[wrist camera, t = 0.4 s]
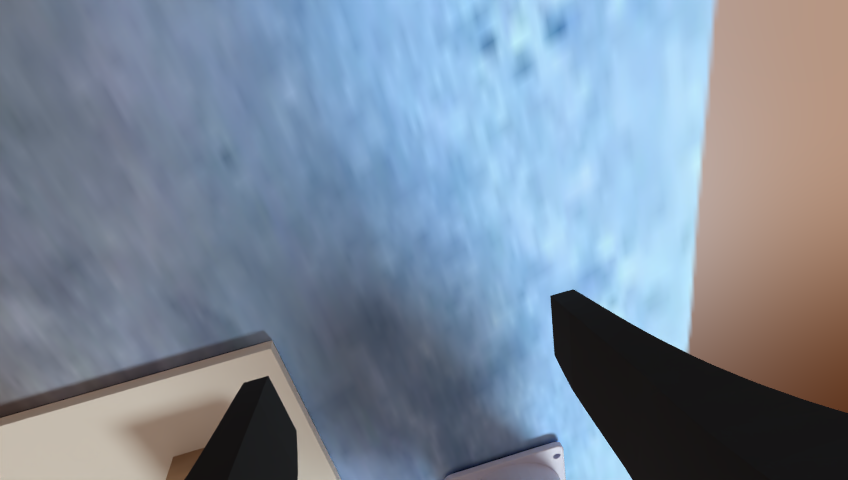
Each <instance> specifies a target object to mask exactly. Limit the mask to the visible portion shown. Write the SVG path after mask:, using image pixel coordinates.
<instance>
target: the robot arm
mask: <svg viewBox="0 0 848 480" xmlns="http://www.w3.org/2000/svg"><path fill="white" fill-rule="evenodd" d="M551 310H552V324H553V338H554V352H555V357H556V359H557V361H558V363H559V365H560V367H561V369H562V371H563V373H564V375H565V377H566V378H567V380H568V382H569V384H570V386H571V388H572V390H573V391H574V393H575V394H576V396H577V397H578V399H579V400H580V402H581V403H582V405H583V406H584V408H585V409H586V411H587V412H588V414H589V415H590V417H591V418H592V420H593V421H594V423H595V424H596V426H597V427H598V429H599V430H600V432H601V433H602V435H603V436H604V437H605V439H606V440H607V442H608V443H609V445H610V446H611V448H612V449H613V451H614V452H615V454H616V455H617V457H618V458H619V460H620V461H621V462H622V464H623V465H624V467H625V468H626V470H627V472H628V473H629V475H630V476H631V478H632V480H848V413H845V412H842V411H838V410H835V409H832V408H829V407H825V406H822V405H819V404H816V403H812V402H809V401H806V400H803V399H800V398H797V397H795V396H792V395H789V394H786V393H783V392H781V391H778V390H775V389H772V388H769V387H766V386H764V385H761V384H758V383H756V382H753V381H750V380H748V379H745V378H743V377H740V376H738V375H736V374H733V373H731V372H728V371H726V370H723V369H721V368H719V367H716V366H714V365H712V364H709V363H707V362H705V361H703V360H701V359H698V358H696V357H694V356H692V355H690V354H688V353H686V352H684V351H682V350H680V349H678V348H676V347H674V346H672V345H670V344H668V343H666V342H664V341H662V340H660V339H658V338H656V337H654V336H652V335H651V334H649V333H647V332H645V331H643V330H641V329H640V328H638V327H636V326H634V325H632V324H631V323H629V322H627V321H626V320H624V319H622V318H620V317H619V316H617V315H615V314H614V313H612V312H610V311H609V310H607V309H605V308H604V307H602V306H600V305H599V304H597V303H595V302H594V301H592V300H590V299H589V298H587V297H585V296H584V295H582V294H580V293H579V292H577V291H575V290H570V291H566V292H562V293H559V294H555V295H552V296H551ZM297 479H298V451H297V430H296V428H295V427H294V425H293V423H292V421H291V419H290V417H289V415H288V413H287V411H286V409H285V407H284V405H283V403H282V401H281V399H280V397H279V395H278V393H277V391H276V389H275V387H274V386H273V384H272V382H271V380H270V378H269V376H266V377H262V378H259V379H255V380H252V381H248V382H245V383H243V385H242V386H241V388H240V389H239V391H238V393H237V394H236V396H235V398H234V399H233V401H232V403H231V404H230V406H229V408H228V409H227V411H226V413H225V414H224V416H223V418H222V420H221V421H220V423H219V425H218V426H217V428H216V430H215V431H214V433H213V435H212V436H211V438H210V440H209V441H208V443H207V444H206V446H205V448H204V449H203V451H202V453H201V454H200V456H199V457H198V459H197V461H196V462H195V464H194V465H193V467H192V469H191V470H190V472H189V473H188V475H187V476H186V478H185V479H184V480H297ZM445 480H566V477H565V465H564V452H563V447H562V445H561V443H560V442H552V443H549V444H546V445H542V446H539V447H536V448H533V449H530V450H527V451H523V452H520V453H517V454H514V455H511V456H507V457H504V458H501V459H498V460H495V461H491V462H488V463H485V464H482V465H479V466H476V467H472V468H469V469H466V470H463V471H460V472H456V473H453V474H450V475H448V476H447V477H446V478H445Z"/></svg>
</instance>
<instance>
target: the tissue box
mask: <svg viewBox="0 0 848 480" xmlns="http://www.w3.org/2000/svg"><path fill="white" fill-rule="evenodd" d="M203 449H204V448H201V449H198V450H194V451H191V452H188V453H184V454H181V455H178V456H174V457H173V459H172V462H171V465H170V468H169V471H168V474H167V477H166V480H184V479H185V478H186V476H187V475H188V473H189V472H190V470H191V469H192V467H193V465H194V464H195V462H196V461H197V459H198V457H199V456H200V454H201V453H202V451H203ZM297 480H298V479H297Z"/></svg>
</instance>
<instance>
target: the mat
mask: <svg viewBox="0 0 848 480" xmlns="http://www.w3.org/2000/svg"><path fill="white" fill-rule="evenodd" d="M266 376H269V378H270V380H271V382H272V384H273V386H274V387H275V389H276V391H277V393H278V395H279V397H280V399H281V401H282V403H283V405H284V407H285V409H286V411H287V413H288V415H289V417H290V419H291V421H292V423H293V425H294V427H295V428H296V430H297V451H298V480H341V478H340V476H339V474H338V472H337V470H336V468H335V466H334V464H333V462H332V460H331V458H330V456H329V454H328V452H327V450H326V448H325V446H324V444H323V442H322V440H321V438H320V436H319V434H318V432H317V430H316V428H315V426H314V424H313V422H312V420H311V418H310V416H309V414H308V412H307V410H306V408H305V406H304V404H303V402H302V400H301V398H300V396H299V394H298V392H297V390H296V388H295V386H294V383H293V381H292V379H291V377H290V375H289V373H288V371H287V369H286V367H285V365H284V363H283V361H282V359H281V357H280V355H279V353H278V351H277V349H276V347H275V345H274V343H273V341H272V340H271V341H268V342H264V343H261V344H257V345H254V346H250V347H247V348H243V349H240V350H236V351H233V352H229V353H226V354H222V355H219V356H215V357H212V358H208V359H205V360H201V361H198V362H194V363H191V364H187V365H184V366H180V367H177V368H173V369H170V370H166V371H163V372H159V373H156V374H152V375H149V376H145V377H142V378H138V379H135V380H131V381H128V382H124V383H121V384H117V385H114V386H110V387H107V388H103V389H100V390H96V391H93V392H89V393H86V394H83V395H79V396H76V397H72V398H69V399H65V400H62V401H58V402H55V403H51V404H48V405H44V406H41V407H37V408H34V409H30V410H27V411H23V412H20V413H16V414H13V415H9V416H6V417H2V418H0V480H166V477H167V474H168V471H169V468H170V465H171V462H172V459H173V457H174V456H178V455H181V454H184V453H188V452H191V451H194V450H198V449H201V448H205V446H206V444H207V443H208V441H209V440H210V438H211V436H212V435H213V433H214V431H215V430H216V428H217V426H218V425H219V423H220V421H221V420H222V418H223V416H224V414H225V413H226V411H227V409H228V408H229V406H230V404H231V403H232V401H233V399H234V398H235V396H236V394H237V393H238V391H239V389H240V388H241V386H242V385H243V383H245V382H248V381H252V380H255V379H259V378H262V377H266Z"/></svg>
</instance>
